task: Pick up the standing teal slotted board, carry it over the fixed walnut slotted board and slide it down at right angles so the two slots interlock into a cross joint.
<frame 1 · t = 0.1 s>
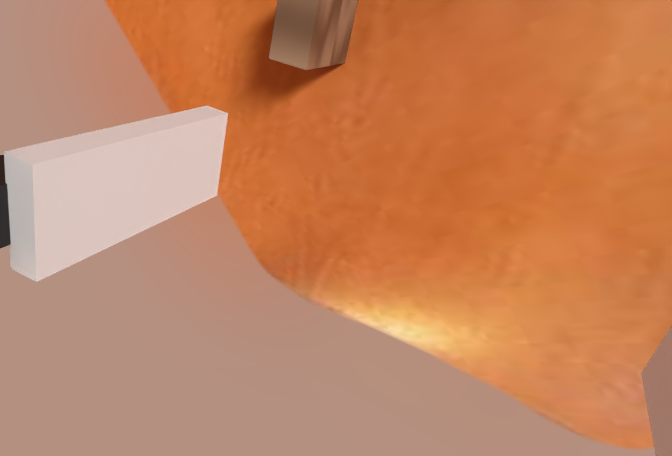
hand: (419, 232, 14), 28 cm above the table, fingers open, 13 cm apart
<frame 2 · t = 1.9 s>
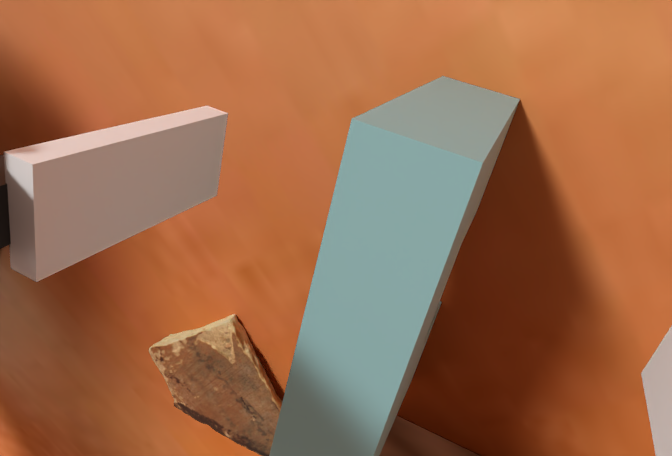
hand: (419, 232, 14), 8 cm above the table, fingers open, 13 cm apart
teal board: (425, 245, 23), on the table
shard: (254, 372, 31), on the table
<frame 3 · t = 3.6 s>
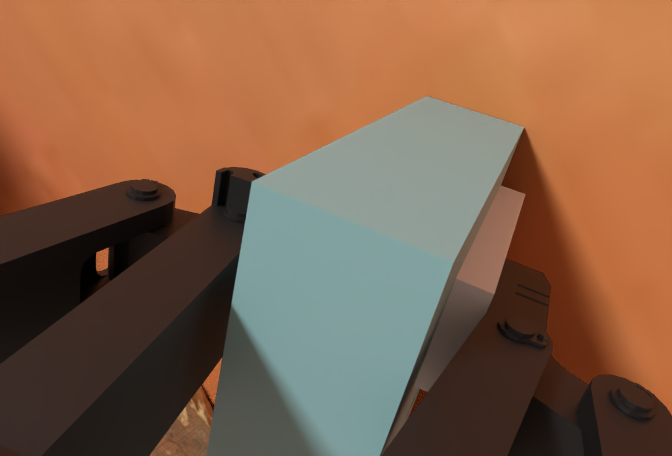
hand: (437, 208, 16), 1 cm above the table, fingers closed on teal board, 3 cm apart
teal board: (407, 302, 19), on the table, touching gripper
shard: (214, 431, 26), on the table
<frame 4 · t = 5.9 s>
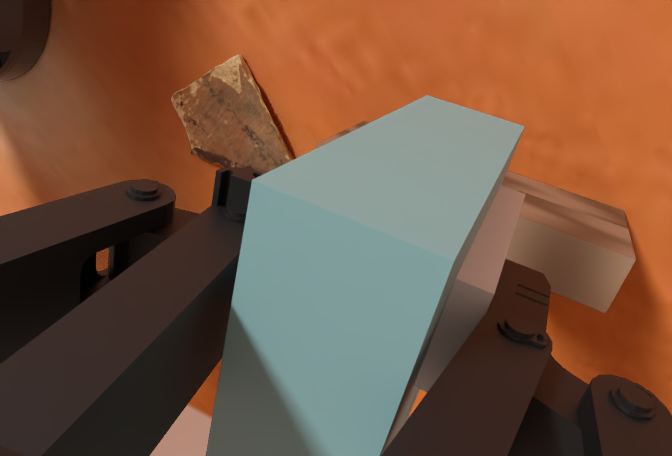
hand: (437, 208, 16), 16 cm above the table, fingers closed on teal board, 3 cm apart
walnut board: (476, 185, 32), on the table
teal board: (407, 301, 19), point 16 cm above the table, touching gripper
shard: (256, 117, 37), on the table
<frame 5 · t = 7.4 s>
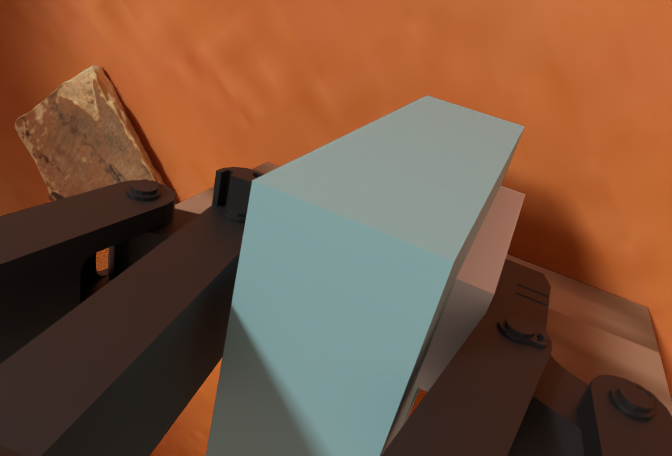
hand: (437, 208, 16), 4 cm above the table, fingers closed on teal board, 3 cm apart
walnut board: (427, 259, 22), on the table
teal board: (407, 301, 19), point 4 cm above the table, touching gripper
shard: (132, 150, 27), on the table
when the fingers open (2 cm above the table, at t = 8.4 s): teal board drops 1 cm, on the table.
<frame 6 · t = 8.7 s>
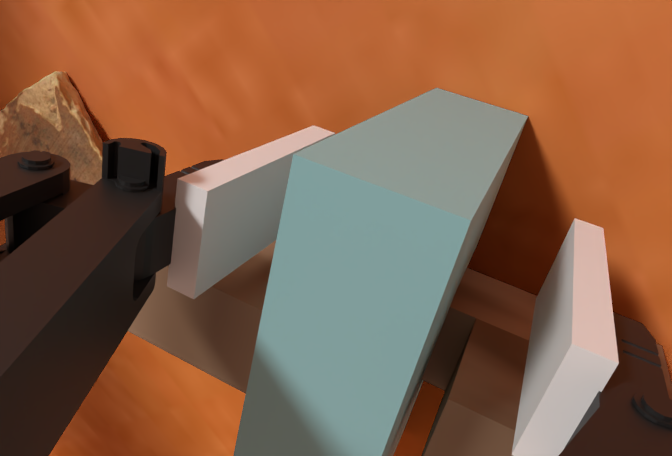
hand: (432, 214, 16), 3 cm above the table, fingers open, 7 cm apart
walnut board: (417, 286, 20), on the table
teal board: (417, 283, 20), on the table
shard: (101, 162, 25), on the table
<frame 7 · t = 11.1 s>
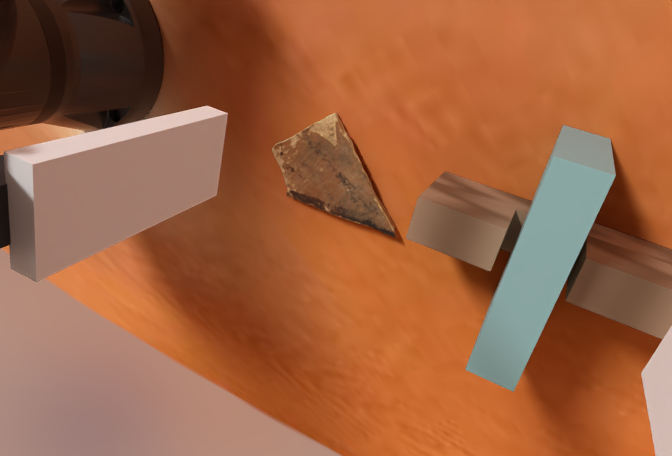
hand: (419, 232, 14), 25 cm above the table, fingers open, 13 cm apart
walnut board: (545, 227, 37), on the table
teal board: (545, 226, 37), on the table
shard: (346, 164, 43), on the table
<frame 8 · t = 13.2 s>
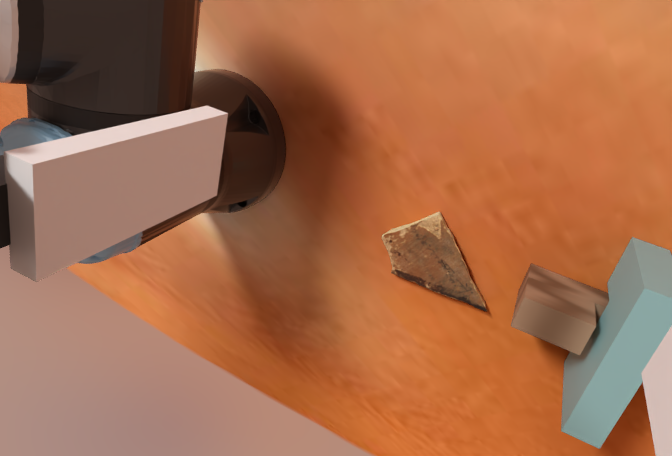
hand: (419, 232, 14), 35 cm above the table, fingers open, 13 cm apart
walnut board: (612, 311, 47), on the table
teal board: (613, 310, 47), on the table
shard: (443, 249, 53), on the table
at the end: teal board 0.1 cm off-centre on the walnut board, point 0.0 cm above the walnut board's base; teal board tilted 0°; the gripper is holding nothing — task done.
